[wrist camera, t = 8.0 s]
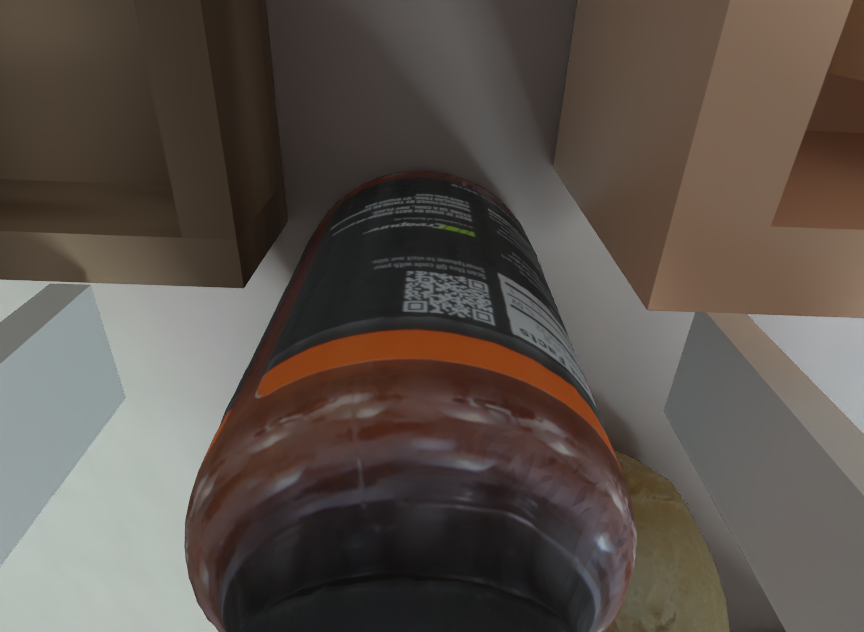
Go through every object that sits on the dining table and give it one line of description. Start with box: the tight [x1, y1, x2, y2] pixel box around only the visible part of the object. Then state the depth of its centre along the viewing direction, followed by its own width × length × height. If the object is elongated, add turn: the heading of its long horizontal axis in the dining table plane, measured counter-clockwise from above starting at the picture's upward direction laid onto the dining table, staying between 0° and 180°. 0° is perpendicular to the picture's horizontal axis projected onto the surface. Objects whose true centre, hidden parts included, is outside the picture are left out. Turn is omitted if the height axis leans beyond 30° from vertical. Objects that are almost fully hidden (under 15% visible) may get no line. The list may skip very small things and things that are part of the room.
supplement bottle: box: [185, 171, 637, 632], centre depth 10 cm, size 6×6×11 cm
